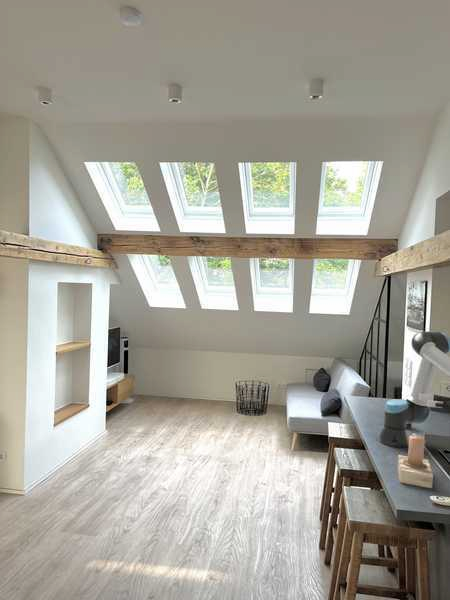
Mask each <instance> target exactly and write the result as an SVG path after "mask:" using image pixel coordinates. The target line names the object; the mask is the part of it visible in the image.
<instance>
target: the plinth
mask: <svg viewBox="0 0 450 600" xmlns="http://www.w3.org/2000/svg"><path fill="white" fill-rule="evenodd" d="M397 472H398V481H399V483H403V484H407V485H413V486H418V487H423V488H427V489H429V488H430V489H433V482H434V474H433V471H432V468H431V465H430V462H429V460H428V459H424V458H423V466H413V465H410V464H409V463H408V455H407V456H406V455H402V454H401V455H399V454H398V457H397Z"/></svg>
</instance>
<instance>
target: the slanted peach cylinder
mask: <svg viewBox="0 0 450 600" xmlns="http://www.w3.org/2000/svg"><path fill="white" fill-rule="evenodd" d="M408 439H409V440H408V450H407V451H408V452H407V457H408V463H409V464H410V465H413V466H423V459H424V453H425V439H426V438H425V437H424V436H421V435H417V434H416V435H415V434H411V435H409V438H408Z"/></svg>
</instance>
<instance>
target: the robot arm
mask: <svg viewBox="0 0 450 600" xmlns="http://www.w3.org/2000/svg"><path fill="white" fill-rule="evenodd" d="M411 347H412V350H413V351H414V352H415V353H416V354H417V355H418V356H420V357H421V360H420V364H419V368H418V370H417V374H416V378H415V381H414V384H413V387H412V392H411V394H410V395H408V396H407V397H406V399H405V400H404V399H399V398H398V399H396V398H392V399H389V400H387V401H386V402H385V405H384V417H383V428H382V429H381V432H380V434H379V437H378V438H379V439H378V441H379V442H380V443H381V444H384V445H386V446H390V447H395V448H406V447H409V440H408V439H409V438H408V434H407V428H406V424H410V423H412V424H421V423H425V422H427V421H429V419H430V417H431V413H432V411H431V408H437V409H445V410H447V411H450V397H449V396H444V395H439V394H433V395H432V394H431V395H430V392H431V389H432V385H433V382H434V378H435V375H436V372H437V369H439V370H440V371H441V372H443V373H444V374H445V375H447V376H448V377H449V378H450V356H449V355H447V354H448V353H450V337H449V335H448V334H447V333H445V332H442V331H441V332H440V331H425V330H424V331H419V332H416V333H415V334H414V335H413V337H412V338H411Z"/></svg>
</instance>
